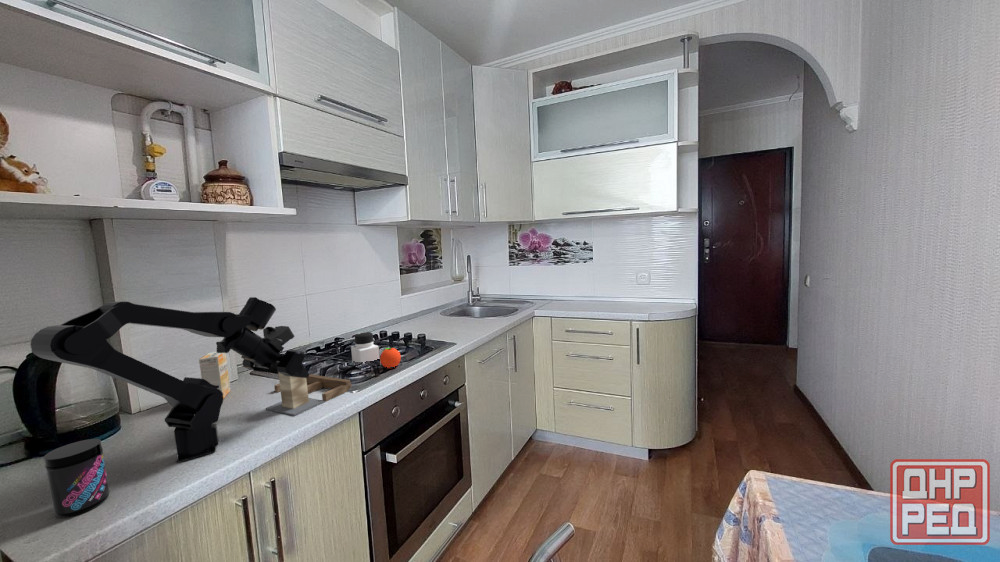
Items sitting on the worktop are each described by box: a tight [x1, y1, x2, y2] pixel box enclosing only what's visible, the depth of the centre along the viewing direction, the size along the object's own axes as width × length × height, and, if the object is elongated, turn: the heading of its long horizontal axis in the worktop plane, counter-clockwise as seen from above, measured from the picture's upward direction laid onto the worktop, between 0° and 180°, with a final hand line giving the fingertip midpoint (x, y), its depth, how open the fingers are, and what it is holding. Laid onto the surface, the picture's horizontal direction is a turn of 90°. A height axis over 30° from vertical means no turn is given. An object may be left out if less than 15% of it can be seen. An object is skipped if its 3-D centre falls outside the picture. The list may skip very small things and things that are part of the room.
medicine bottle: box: [350, 331, 381, 362], centre depth 138 cm, size 7×7×12 cm
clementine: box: [380, 347, 402, 369], centre depth 135 cm, size 8×7×7 cm
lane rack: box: [274, 373, 353, 402], centre depth 117 cm, size 9×22×3 cm, turn 63°
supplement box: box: [198, 351, 231, 400], centre depth 116 cm, size 8×5×13 cm, turn 22°
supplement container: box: [43, 438, 111, 518], centre depth 67 cm, size 7×7×10 cm
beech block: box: [278, 372, 310, 409], centre depth 106 cm, size 5×5×10 cm
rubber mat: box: [265, 397, 326, 417], centre depth 106 cm, size 9×12×1 cm
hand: (296, 374), depth 107 cm, fingers open, 9 cm apart
